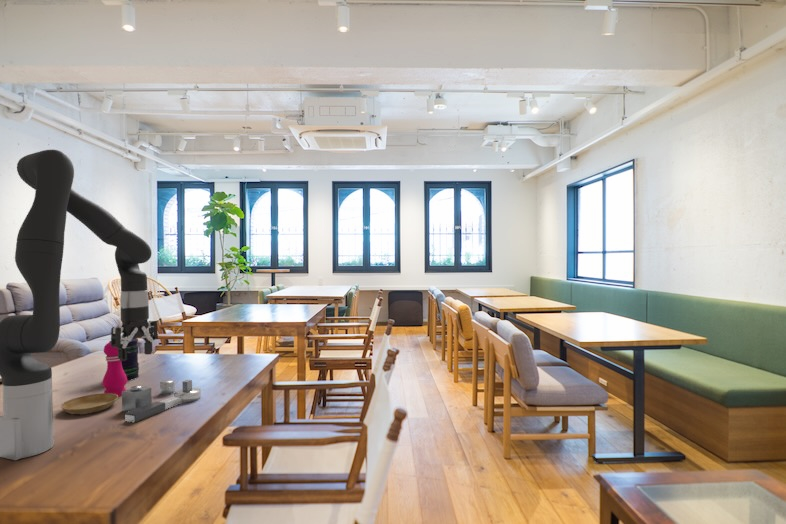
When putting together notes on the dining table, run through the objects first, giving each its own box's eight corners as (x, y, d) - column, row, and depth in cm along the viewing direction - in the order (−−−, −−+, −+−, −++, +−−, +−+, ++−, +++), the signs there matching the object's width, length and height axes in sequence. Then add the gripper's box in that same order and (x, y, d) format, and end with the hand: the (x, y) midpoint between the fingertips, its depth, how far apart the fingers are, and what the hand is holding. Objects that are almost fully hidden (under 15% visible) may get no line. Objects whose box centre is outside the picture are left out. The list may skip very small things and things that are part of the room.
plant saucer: (129, 402, 139) (129, 394, 139) (86, 419, 125) (85, 410, 125) (94, 399, 143) (94, 391, 143) (48, 415, 129) (48, 406, 129)
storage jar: (128, 381, 163) (127, 342, 162) (103, 382, 163) (102, 343, 163) (144, 374, 173) (143, 337, 172) (120, 374, 173) (119, 338, 173)
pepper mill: (115, 398, 143) (113, 339, 143) (97, 397, 144) (95, 338, 144) (132, 391, 150) (131, 335, 150) (115, 390, 152) (113, 334, 151)
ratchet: (139, 424, 120) (139, 402, 120) (119, 420, 123) (118, 400, 123) (206, 396, 144) (205, 378, 144) (187, 394, 147) (187, 376, 147)
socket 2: (167, 395, 146) (166, 383, 146) (157, 394, 147) (157, 382, 147) (177, 391, 150) (177, 380, 150) (168, 390, 151) (167, 379, 151)
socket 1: (135, 412, 129) (135, 390, 129) (122, 410, 131) (121, 388, 131) (151, 406, 135) (151, 385, 135) (138, 404, 137) (138, 383, 136)
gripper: (145, 302, 141) (147, 351, 141) (103, 307, 127) (105, 361, 127) (163, 303, 138) (164, 353, 138) (122, 308, 125) (123, 363, 125)
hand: (135, 357), depth 133 cm, fingers open, 8 cm apart
